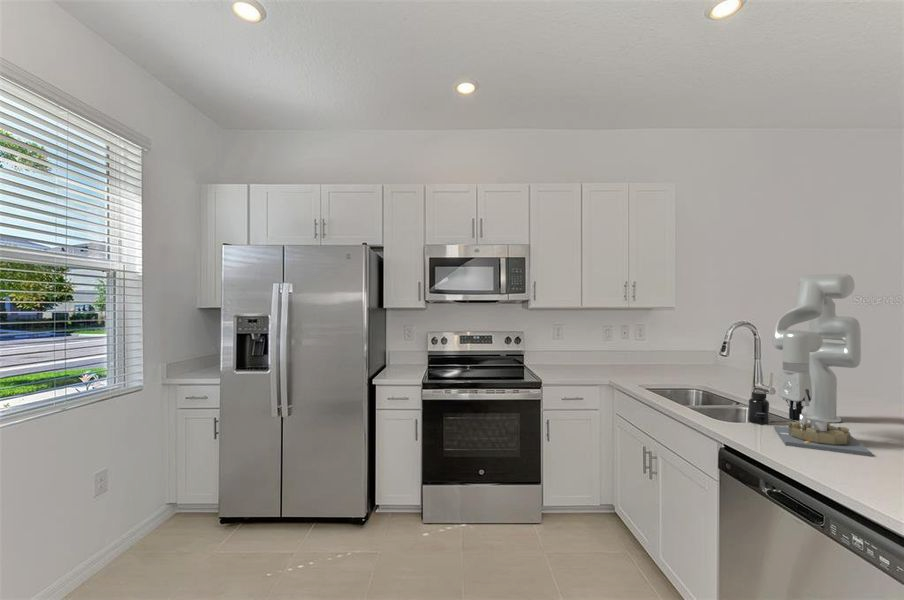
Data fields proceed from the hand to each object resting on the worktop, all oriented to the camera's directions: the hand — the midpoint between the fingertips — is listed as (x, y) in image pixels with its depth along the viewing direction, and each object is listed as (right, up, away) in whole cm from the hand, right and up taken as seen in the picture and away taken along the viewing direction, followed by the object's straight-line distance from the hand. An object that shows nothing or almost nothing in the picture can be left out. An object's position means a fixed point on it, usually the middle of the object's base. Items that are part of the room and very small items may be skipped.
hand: (795, 419), depth 158 cm
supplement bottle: (+2, -7, +21) cm, 23 cm away
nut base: (+6, -7, -3) cm, 9 cm away
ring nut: (+6, -5, -3) cm, 8 cm away
